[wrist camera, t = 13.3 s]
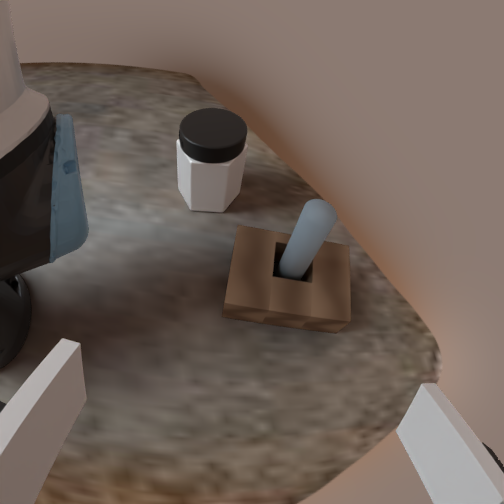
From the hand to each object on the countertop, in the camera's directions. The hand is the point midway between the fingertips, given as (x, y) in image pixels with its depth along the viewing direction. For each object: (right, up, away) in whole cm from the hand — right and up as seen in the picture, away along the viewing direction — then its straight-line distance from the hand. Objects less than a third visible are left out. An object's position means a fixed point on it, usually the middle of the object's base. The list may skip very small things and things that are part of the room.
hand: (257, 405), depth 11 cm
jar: (-6, +14, +36) cm, 39 cm away
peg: (+4, +2, +30) cm, 31 cm away
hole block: (+4, +1, +30) cm, 30 cm away
